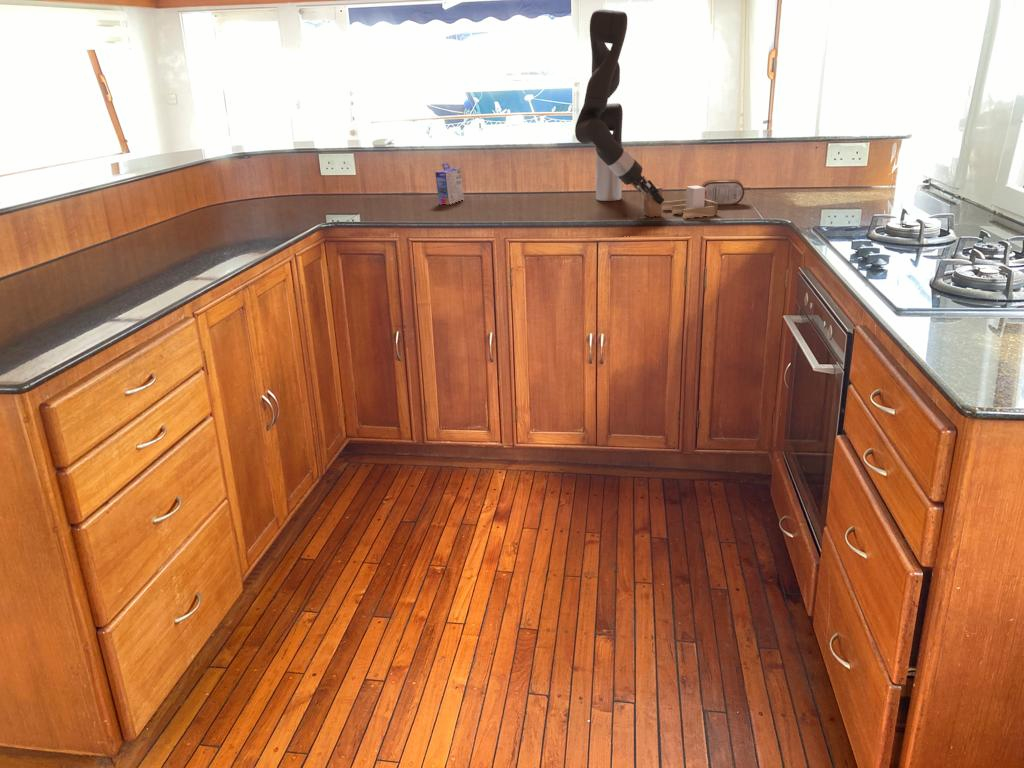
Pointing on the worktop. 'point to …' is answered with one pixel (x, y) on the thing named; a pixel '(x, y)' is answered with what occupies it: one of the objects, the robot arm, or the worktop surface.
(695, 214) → the rack
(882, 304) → the worktop surface
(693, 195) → the white block
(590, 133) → the robot arm
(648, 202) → the tan block
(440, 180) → the ink cartridge box
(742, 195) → the tin
